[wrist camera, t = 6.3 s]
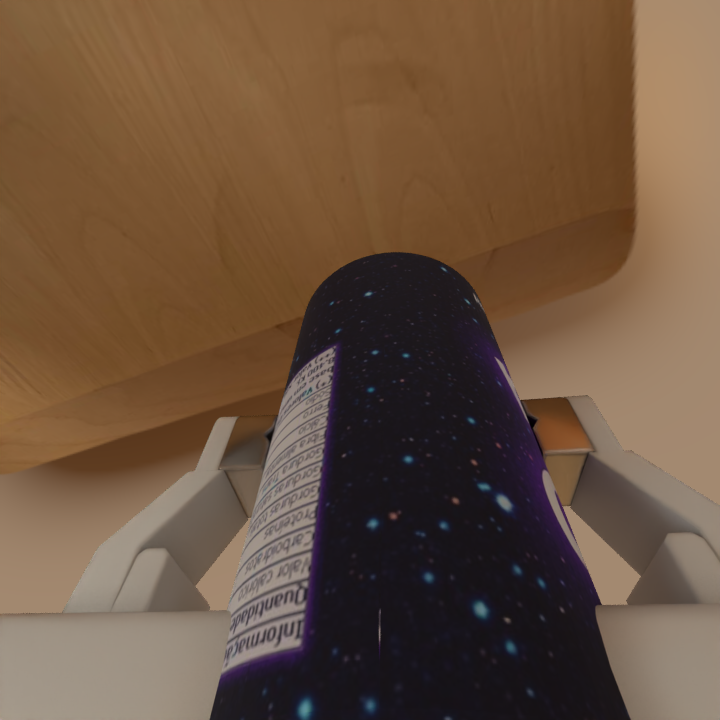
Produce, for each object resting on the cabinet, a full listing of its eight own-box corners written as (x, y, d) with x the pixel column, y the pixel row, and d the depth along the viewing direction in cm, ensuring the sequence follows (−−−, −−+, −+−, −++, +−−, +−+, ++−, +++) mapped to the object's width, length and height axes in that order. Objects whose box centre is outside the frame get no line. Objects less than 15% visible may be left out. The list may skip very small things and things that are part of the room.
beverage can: (375, 408, 16) (374, 930, 7) (270, 308, 14) (24, 932, 4) (510, 335, 14) (797, 967, 4) (415, 198, 11) (622, 1023, 2)
